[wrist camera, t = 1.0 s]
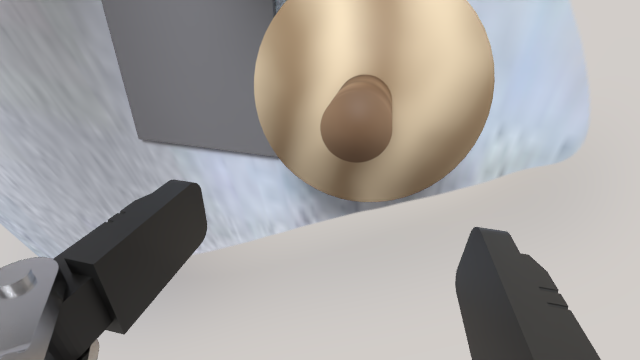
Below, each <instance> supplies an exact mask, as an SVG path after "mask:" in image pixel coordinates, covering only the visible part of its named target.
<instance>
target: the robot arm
mask: <svg viewBox="0 0 640 360" xmlns="http://www.w3.org/2000/svg"><path fill="white" fill-rule="evenodd" d="M206 231H207V220H206V215H205V209H204V203H203V198H202V192H201V188H200V186H199V185H198V184H197V183H192V182H185V181H179V180H170V181H168V182H167V183H166V184H164V185H163V186H161V187H160V188H159V189H157V190H156V191H155V192H153V193H152V194H149V195H147V196H145V197H142V198H140V199H138V200H135V201H134V202H132V203H131V204H130V205H128V206H127V207H125V208H124V209H123V210H121V211H120V214H119V213H117V214H116V215H114V216H113V217H111V218H110V219H109V220H108V222H107V223H106V222H104V223H103V224H102V225H100V226H99V227H97V228H96V229H95V230H93V231H92V232H90V233H89V234H88V235H86V236H85V237H83V238H82V239H81V240H79V241H78V242H76V243H75V244H74V245H72V246H71V247H69V248H68V249H67V250H65V251H64V252H62V253H61V254H60V255H58V256H57V257H55V258H54V259H51V258H47V257H35V258H29V259H24V260H20V261H17V262H14V263H11V264H9V265H6V266H4V267H2V268H0V360H97V358H98V352H99V342H98V340H97V338H98V337H99V336H100V335H101V334H102V333H103V332H104V330H109V331H112V332H116V333H121V334H125V333H126V332H127V331H128V329H129V328H130V327H131V326H132V325H133V324H134V322H135V321H136V320H137V319H138V318H139V317H140V315H141V314H142V313H143V312H144V311H145V309H146V308H147V307H148V306H149V305H150V304H151V302H152V301H153V300H154V299H155V298H156V296H157V295H158V294H159V293H160V291H162V289H163V288H164V287H165V286H166V285H167V283H168V282H169V281H170V280H171V279H172V277H173V276H174V275H175V274H176V273H177V271H178V270H179V269H180V268H181V267H182V265H183V264H184V263H185V262H186V261H187V260H188V258H189V257H190V256H191V255H192V254H193V253H194V251H195V250H196V249H197V248H198V247H199V245H200V244H201V243H202V242H203V240H204V238H205V235H206ZM455 285H456V293H457V297H458V302H459V305H460V310H461V314H462V318H463V323H464V327H465V331H466V336H467V340H468V344H469V349H470V353H471V357H472V360H600V358H599V356H598V355H597V353H596V351H595V349H594V348H593V346H592V345H591V343H590V341H589V340H588V338H587V336H586V335H585V333H584V331H583V330H582V328H581V327H580V325H579V323H578V322H577V320H576V318H575V317H574V315H573V313H572V312H571V311H570V310H568V305H567V304H566V302H565V300H564V299H563V297H562V295H561V294H558V289H557V287H556V285H555V284H554V282H553V281H552V279H551V277H550V276H549V274H548V272H547V271H546V270H545V269H544V268H543V267H541V266H540V265H539V264H538V263H537V262H536V261H535V260H534V259H533V258H532V257H530V256H529V255H526V254H520V252H519V250H518V248H517V247H516V245H515V243H514V241H513V239H512V237H511V235H510V234H509V233H508V232H505V231H500V230H493V229H487V228H480V227H475V228H473V230H472V231H471V233H470V236H469V239H468V242H467V244H466V247H465V250H464V252H463V255H462V257H461V260H460V263H459V266H458V269H457V273H456V282H455Z"/></svg>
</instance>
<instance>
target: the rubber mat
mask: <svg viewBox="0 0 640 360" xmlns="http://www.w3.org/2000/svg"><path fill="white" fill-rule="evenodd" d="M101 1H102V4H103V8H104V12H105V16H106V19H107V23H108V27H109V30H110V34H111V38H112V41H113V45H114V49H115V53H116V56H117V60H118V64H119V67H120V71H121V75H122V79H123V82H124V86H125V90H126V93H127V97H128V101H129V104H130V108H131V112H132V116H133V119H134V123H135V127H136V130H137V134H138V138H139V139H143V140H151V141H158V142H166V143H174V144H181V145H189V146H196V147H204V148H212V149H219V150H227V151H235V152H242V153H250V154H258V155H265V156H273V157H278V156H277V155H276V153H275V152H274V150H273V149H272V147H271V146H270V144H269V142H268V140H267V138H266V136H265V134H264V132H263V129H262V127H261V124H260V121H259V118H258V114H257V109H256V104H255V96H254V74H255V66H256V60H257V56H258V52H259V48H260V45H261V43H262V40H263V37H264V35H265V32H266V31H267V29H268V27H269V25H270V23H271V21H272V20H273V18H274V16H275V0H101Z"/></svg>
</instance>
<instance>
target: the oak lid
mask: <svg viewBox="0 0 640 360" xmlns="http://www.w3.org/2000/svg"><path fill="white" fill-rule="evenodd" d="M494 82H495V81H494V62H493V56H492V51H491V46H490V43H489V40H488V37H487V34H486V31H485V28H484V27H483V25H482V23H481V21H480V19H479V17H478V15H477V13H476V12H475V11H474V9H473V8H472V7H471V5H470V4H469V3H468V1H467V0H287V1H286V2H285V3H284V4H283V5H282V7H281V8H280V10H279V11H278V12H277V14H276V15H275V16H274V18H273V20H272V21H271V23H270V25H269V27H268V29H267V31H266V32H265V35H264V37H263V40H262V43H261V45H260V48H259V52H258V56H257V60H256V66H255V74H254V96H255V104H256V109H257V114H258V118H259V121H260V124H261V127H262V129H263V132H264V134H265V136H266V138H267V140H268V142H269V144H270V146H271V147H272V149H273V150H274V152H275V153H276V155H277V156H278V157H279V159H280V160H281V161H282V162H283V163H284V165H285V166H286V167H287V168H288V169H289V170H290V171H292V172H293V173H294V174H295V175H296V176H297V177H299V178H300V179H301V180H303V181H304V182H305V183H307V184H309V185H310V186H312V187H314V188H315V189H317V190H319V191H322V192H324V193H326V194H328V195H332V196H335V197H338V198H341V199H346V200H351V201H360V202H381V201H389V200H395V199H399V198H403V197H406V196H409V195H412V194H415V193H417V192H420V191H422V190H424V189H426V188H428V187H430V186H431V185H433V184H435V183H436V182H438V181H439V180H441V179H442V178H444V177H445V176H446V175H447V174H448V173H450V172H451V171H452V170H453V169H454V168H455V167H456V166H457V165H458V164H459V163H460V162H461V161H462V160H463V159H464V158H465V157H466V155H467V154H468V153H469V151H470V150H471V149H472V147H473V146H474V144H475V143H476V141H477V139H478V137H479V136H480V134H481V132H482V130H483V128H484V125H485V123H486V120H487V118H488V115H489V111H490V107H491V103H492V99H493V91H494Z"/></svg>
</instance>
